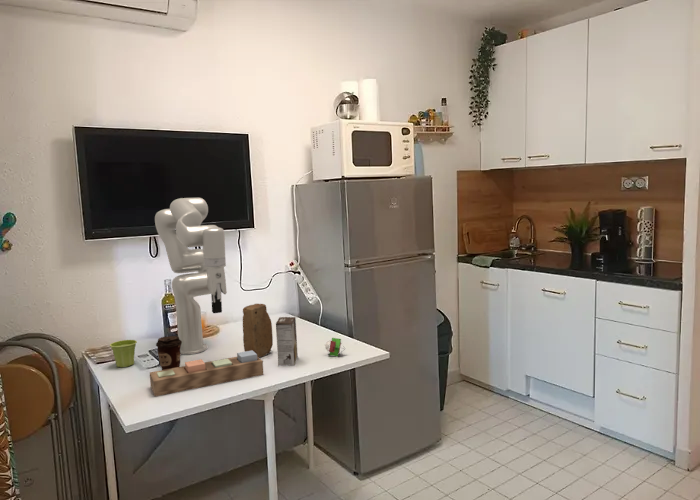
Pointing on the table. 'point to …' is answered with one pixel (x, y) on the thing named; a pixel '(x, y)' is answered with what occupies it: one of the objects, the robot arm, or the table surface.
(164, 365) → the coffee cup
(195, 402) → the table surface
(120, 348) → the plant pot
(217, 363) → the sage button
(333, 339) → the geometric puzzle
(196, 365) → the terracotta button
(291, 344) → the coffee box
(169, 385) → the button panel
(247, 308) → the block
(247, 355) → the slate button
